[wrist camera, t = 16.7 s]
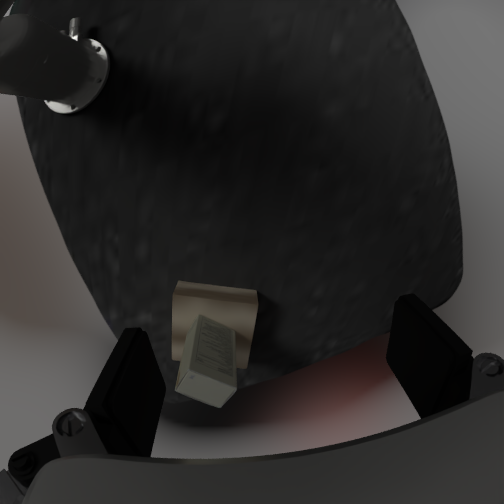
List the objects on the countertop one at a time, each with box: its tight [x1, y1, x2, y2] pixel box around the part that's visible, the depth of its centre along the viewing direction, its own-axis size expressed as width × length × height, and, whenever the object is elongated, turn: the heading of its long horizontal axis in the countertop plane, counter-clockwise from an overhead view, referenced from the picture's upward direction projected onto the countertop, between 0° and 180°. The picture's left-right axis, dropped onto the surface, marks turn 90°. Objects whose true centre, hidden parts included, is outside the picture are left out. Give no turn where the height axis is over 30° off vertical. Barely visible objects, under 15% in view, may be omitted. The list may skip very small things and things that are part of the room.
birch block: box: [172, 281, 258, 369], centre depth 45 cm, size 12×12×5 cm
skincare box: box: [175, 314, 237, 408], centre depth 36 cm, size 6×4×12 cm
